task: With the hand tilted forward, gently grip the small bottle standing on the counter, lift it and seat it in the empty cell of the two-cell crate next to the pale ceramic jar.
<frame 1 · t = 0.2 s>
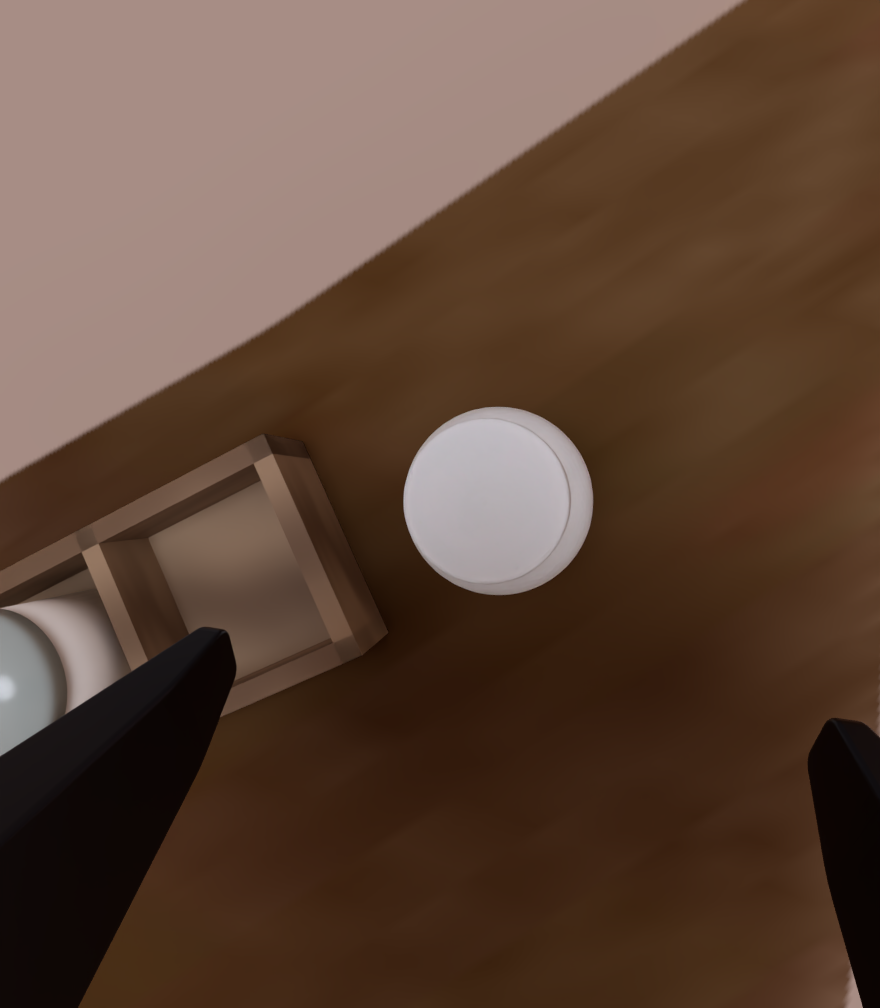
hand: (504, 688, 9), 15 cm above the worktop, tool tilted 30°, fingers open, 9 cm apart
supplement bottle: (512, 499, 24), on the worktop
jar: (99, 652, 27), point 1 cm above the worktop, touching crate
crate: (181, 614, 27), on the worktop
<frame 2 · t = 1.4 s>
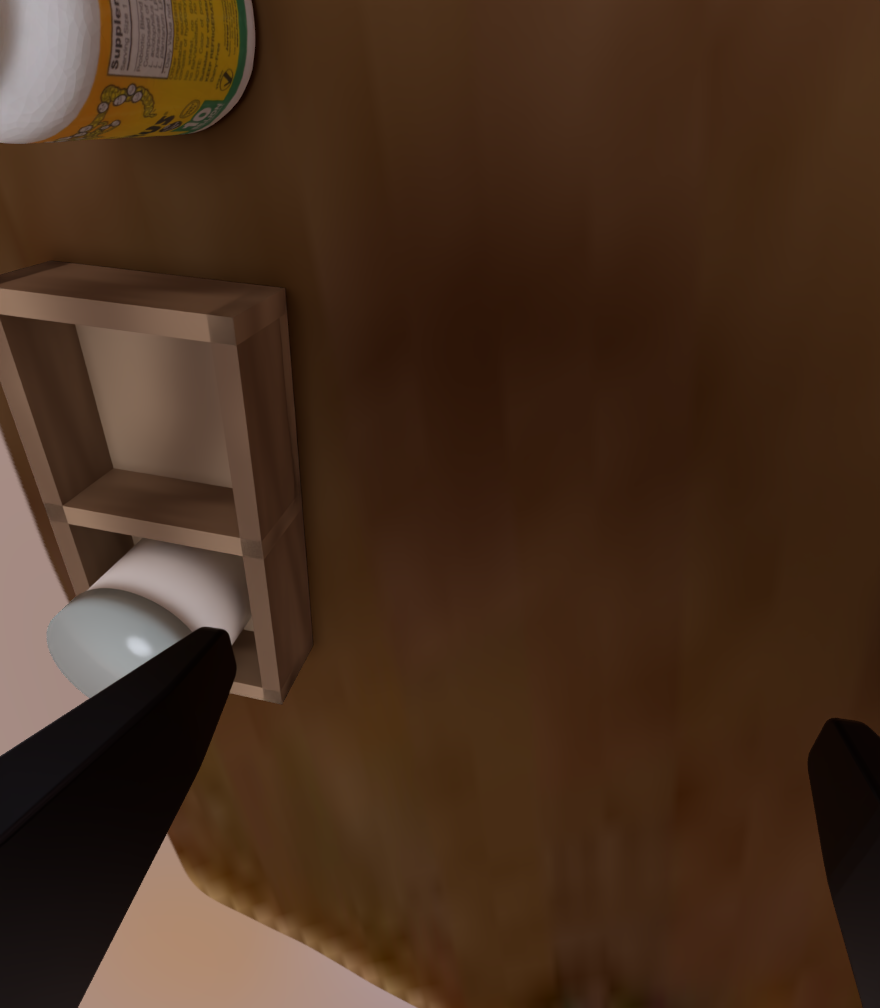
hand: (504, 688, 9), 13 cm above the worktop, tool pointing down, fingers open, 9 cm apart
supplement bottle: (172, 20, 17), on the worktop
jar: (208, 566, 27), point 1 cm above the worktop, touching crate
crate: (202, 482, 25), on the worktop
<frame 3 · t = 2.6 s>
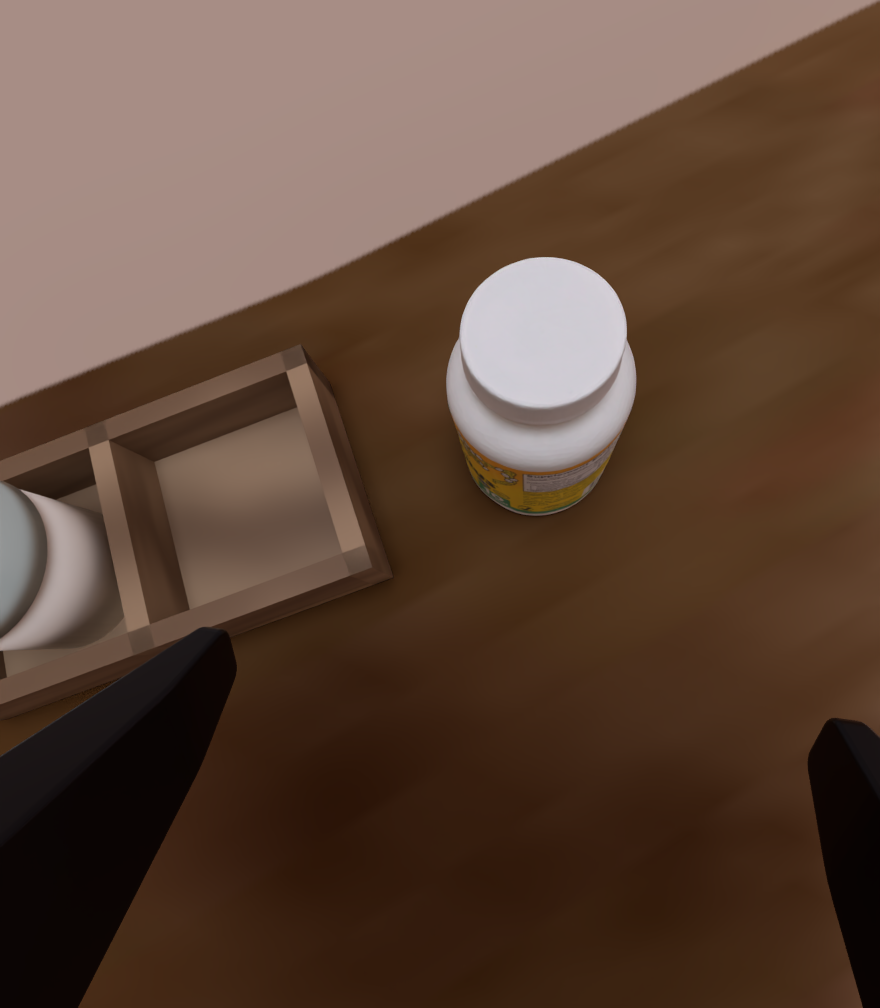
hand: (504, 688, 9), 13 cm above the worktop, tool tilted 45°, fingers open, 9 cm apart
supplement bottle: (534, 451, 24), on the worktop
jar: (74, 578, 25), point 1 cm above the worktop, touching crate
crate: (172, 546, 25), on the worktop
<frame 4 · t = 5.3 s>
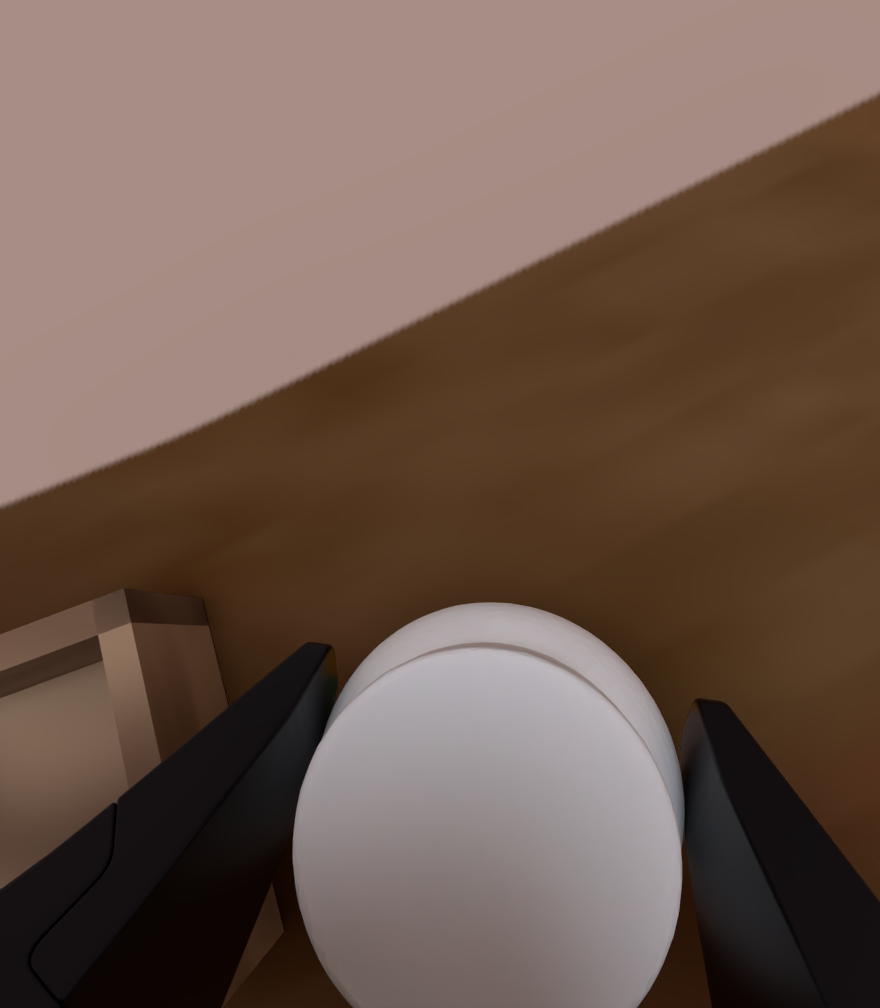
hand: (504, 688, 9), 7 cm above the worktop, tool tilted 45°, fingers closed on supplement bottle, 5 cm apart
supplement bottle: (505, 724, 16), on the worktop, touching gripper
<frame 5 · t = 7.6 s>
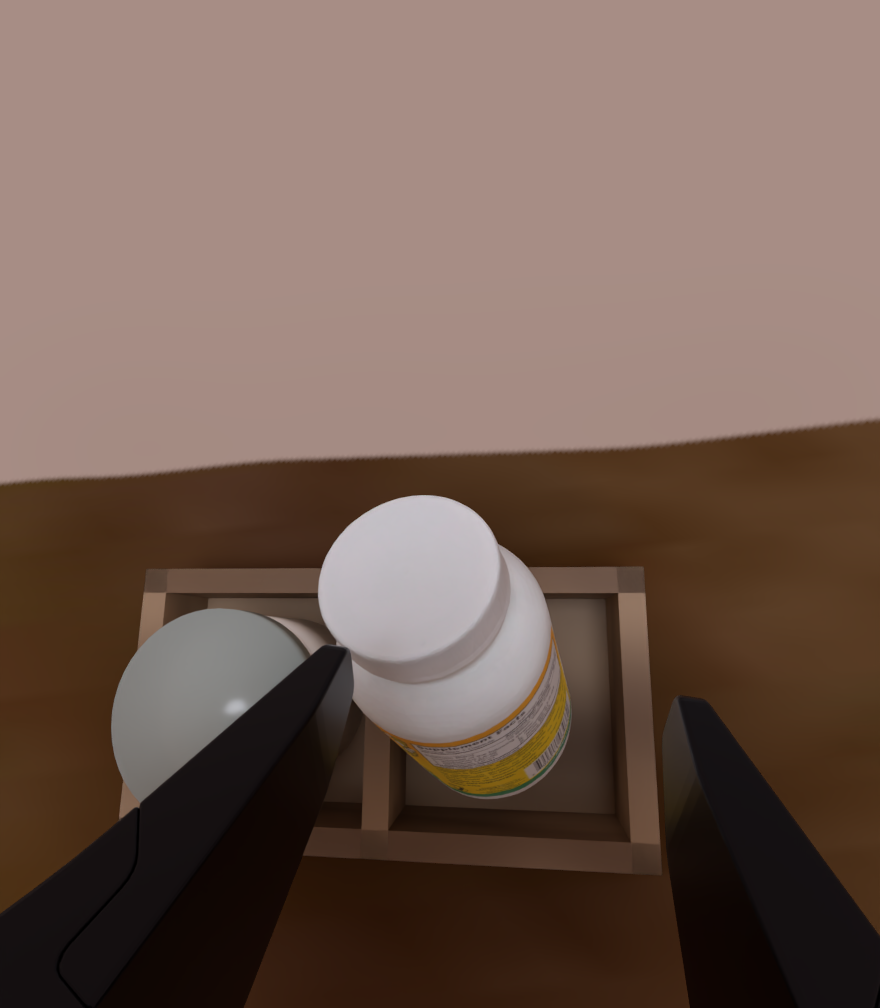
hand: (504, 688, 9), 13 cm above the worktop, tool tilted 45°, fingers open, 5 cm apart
supplement bottle: (491, 714, 20), point 2 cm above the worktop, touching crate
jar: (290, 695, 22), point 1 cm above the worktop, touching crate
crate: (399, 696, 22), on the worktop
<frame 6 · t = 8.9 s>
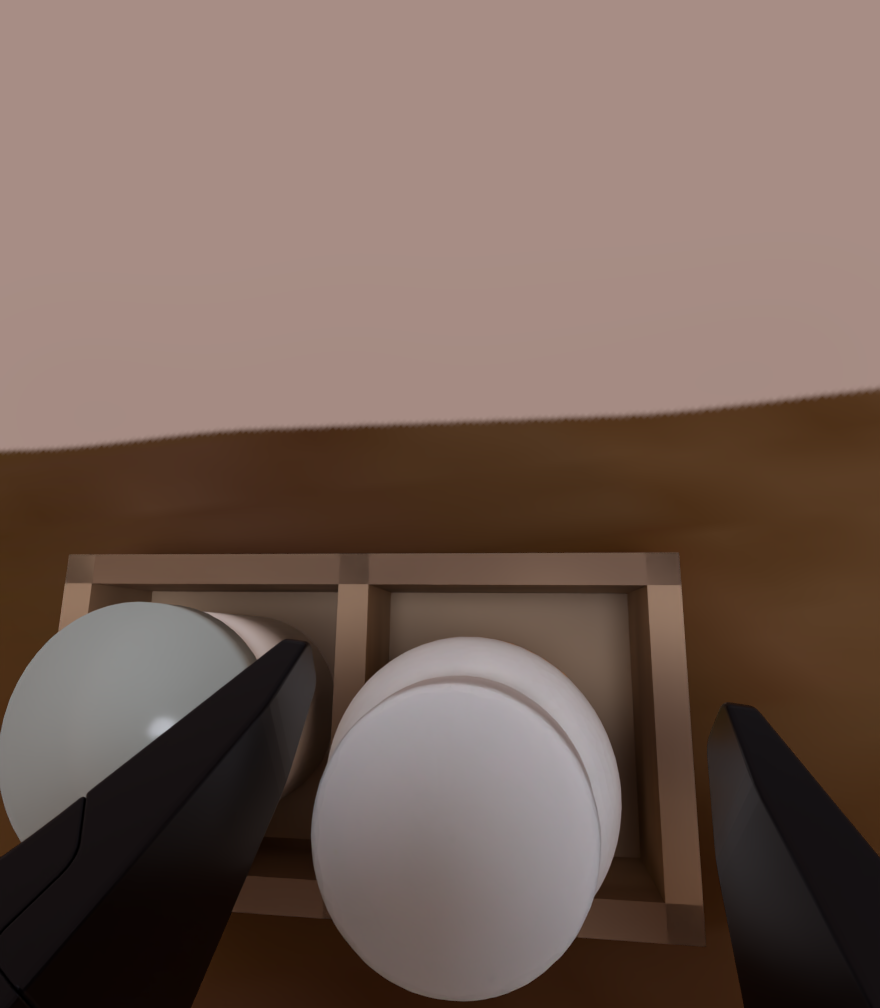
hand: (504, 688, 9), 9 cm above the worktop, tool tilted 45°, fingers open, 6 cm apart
supplement bottle: (488, 732, 18), resting on crate
jar: (247, 708, 19), point 1 cm above the worktop, touching crate
crate: (378, 710, 19), on the worktop
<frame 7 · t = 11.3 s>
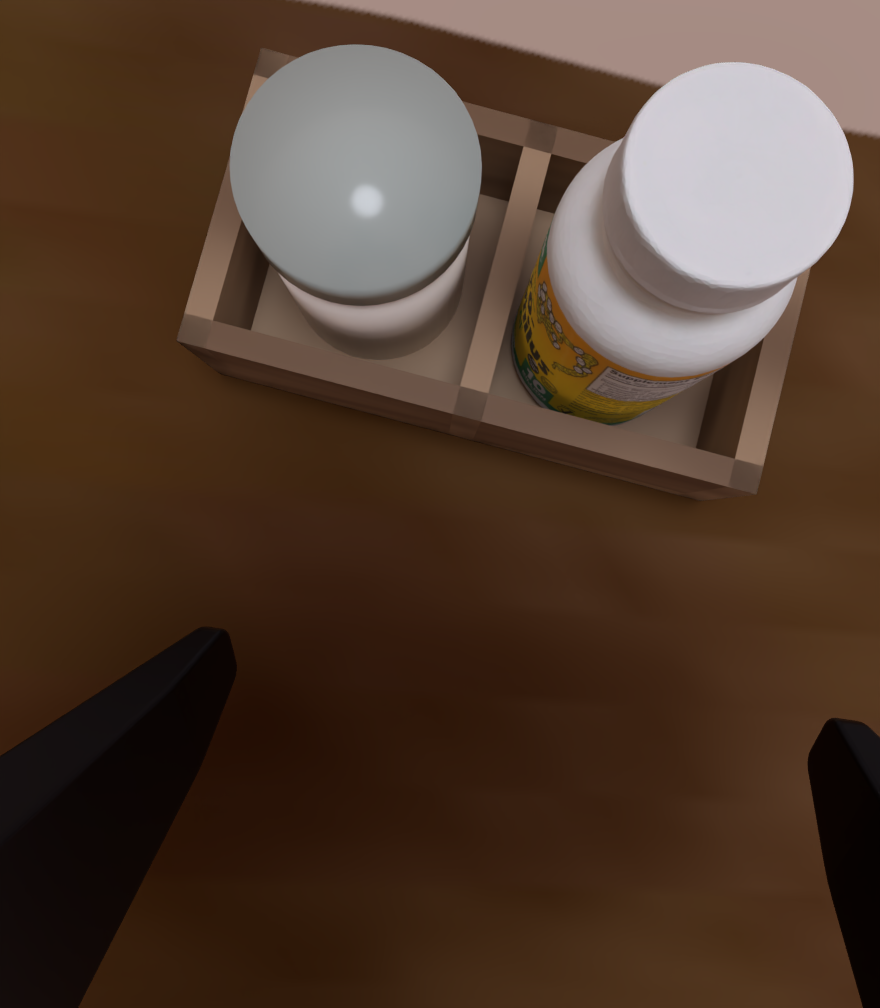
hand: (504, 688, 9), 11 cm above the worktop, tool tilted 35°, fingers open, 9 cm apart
supplement bottle: (589, 349, 20), resting on crate
jar: (378, 276, 20), point 1 cm above the worktop, touching crate
crate: (493, 313, 21), on the worktop
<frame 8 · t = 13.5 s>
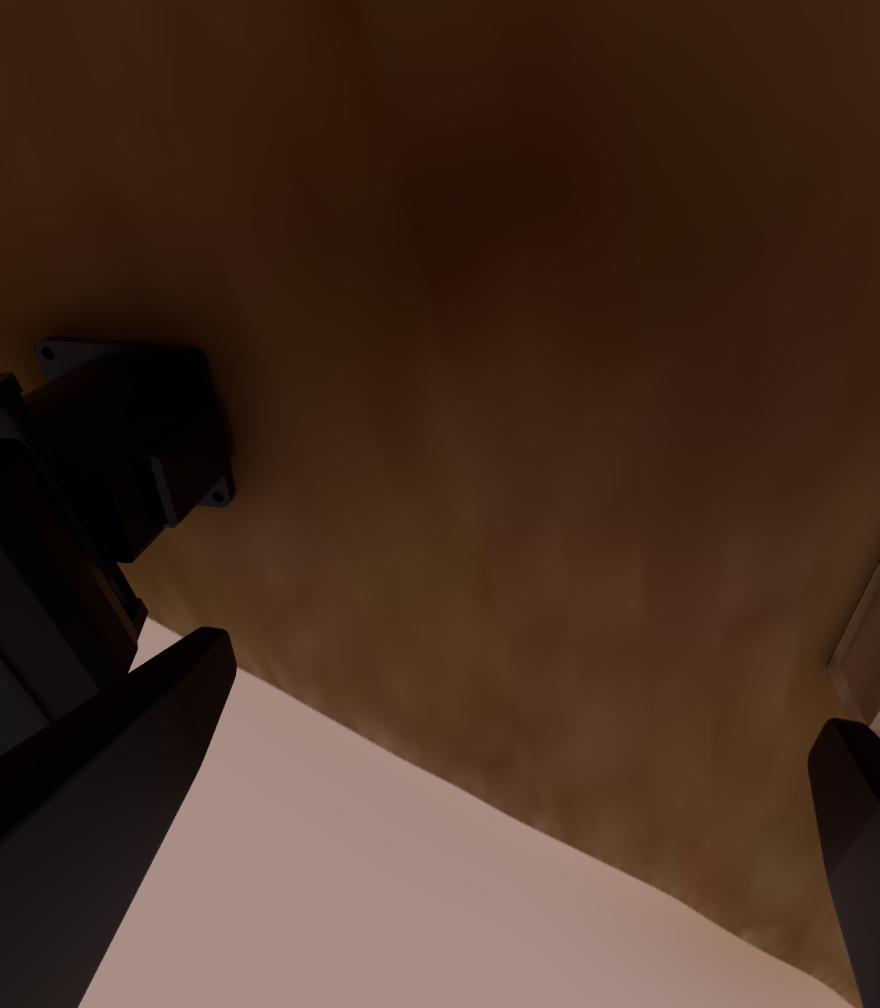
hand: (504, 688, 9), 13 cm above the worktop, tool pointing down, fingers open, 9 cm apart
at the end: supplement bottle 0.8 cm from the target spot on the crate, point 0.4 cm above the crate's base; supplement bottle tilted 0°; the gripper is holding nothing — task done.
